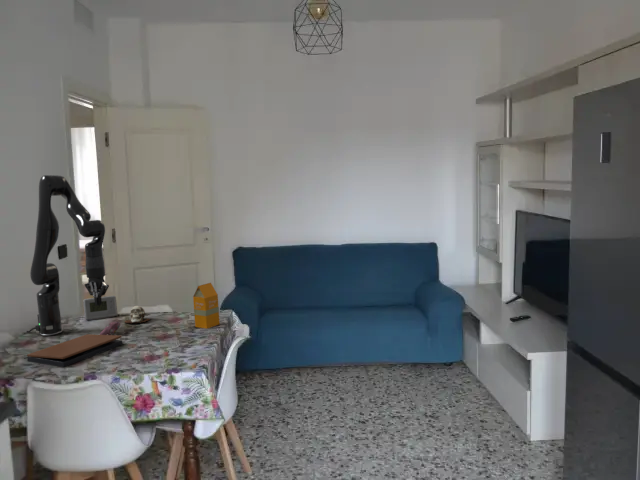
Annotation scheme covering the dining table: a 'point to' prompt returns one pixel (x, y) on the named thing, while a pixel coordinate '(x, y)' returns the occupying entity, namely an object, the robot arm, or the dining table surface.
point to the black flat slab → (77, 355)
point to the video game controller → (110, 328)
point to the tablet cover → (74, 346)
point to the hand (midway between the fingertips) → (98, 305)
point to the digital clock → (100, 308)
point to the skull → (137, 315)
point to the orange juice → (206, 306)
